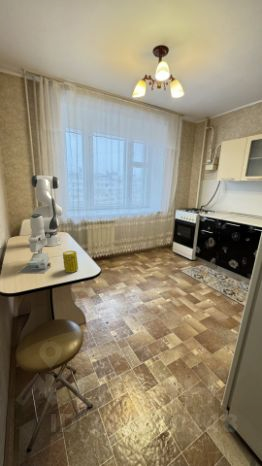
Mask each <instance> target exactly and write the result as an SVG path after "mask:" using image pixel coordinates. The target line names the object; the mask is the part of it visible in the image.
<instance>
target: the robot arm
mask: <svg viewBox="0 0 262 466" xmlns="http://www.w3.org/2000/svg"><path fill="white" fill-rule="evenodd" d="M30 182H31V185H32V187H33V188H35V191H34V194H35V199H36V200H37V201H39V202H40V203H41V204H45V205H42V206H41V205H40V206H36V207H35V208H33V214H32V215H30V220H29V223H30V224H29V225H30V229H31V234H30V236H29V238H28V239H27V240H28V242H29V250H30V252H31V253H43V248H44V247H56V246H61V245H62V244H63V241H64V240H63V239H61V235H59V234H58V232H59V230H58V228H59V225H60V223H59V219H58V217H61V216H63V208H62V207H61V206H60V205H59V204H57V202H56V200H55V190H57V189H58V188H59V185H60V181H59V178H58V177H56V176H51V175H39V174H38V175H37V174H34V175H32V176H31V178H30Z"/></svg>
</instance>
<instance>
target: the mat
mask: <svg viewBox="0 0 262 466" xmlns="http://www.w3.org/2000/svg"><path fill="white" fill-rule="evenodd" d="M51 267H52V265H51V266H47V267H46V269H32V270H31V267H30V265H29V264H28V265H26V266H24V267H23V268H22V269H21V270H20V271H18V272H17V273H18V274H45V273H46V272H47V271H49V269H50V268H51Z"/></svg>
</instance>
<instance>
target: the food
mask: <svg viewBox="0 0 262 466" xmlns="http://www.w3.org/2000/svg"><path fill="white" fill-rule="evenodd" d="M62 260H63V267H64V271H65V273H69V274H70V273H75V272H77V271H78V270H79V263H78V255H77V251H76V250H66V251H63V252H62Z"/></svg>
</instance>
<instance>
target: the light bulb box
mask: <svg viewBox="0 0 262 466" xmlns="http://www.w3.org/2000/svg"><path fill="white" fill-rule="evenodd" d="M49 261H50V256H49V253H48V252H42V253H38V252H33V254H32V256H31V258H30V260H29V262H28V263H29V264H30V267H31V270H32V269H46V267H47V264H48V263H49ZM29 264H28V265H29Z"/></svg>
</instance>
